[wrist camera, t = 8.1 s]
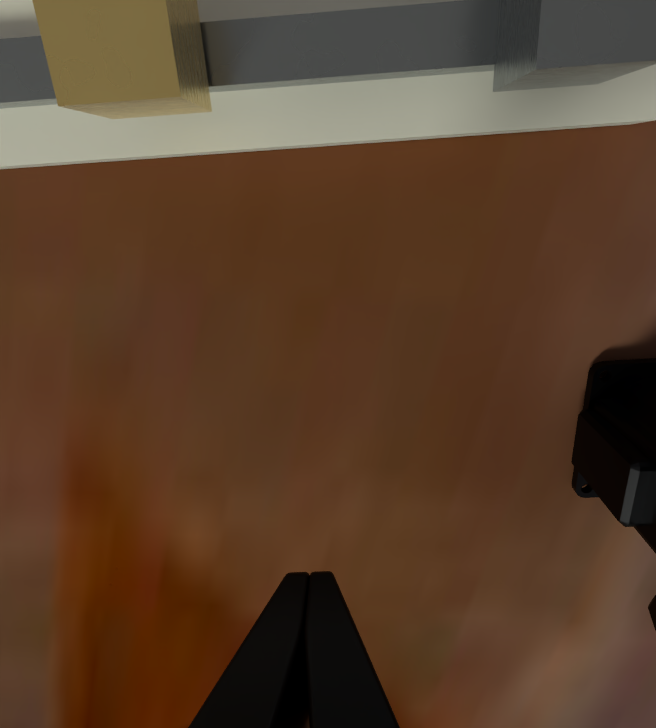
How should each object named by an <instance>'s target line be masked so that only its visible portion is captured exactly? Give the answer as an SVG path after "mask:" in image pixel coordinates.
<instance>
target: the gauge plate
mask: <svg viewBox="0 0 656 728" xmlns="http://www.w3.org/2000/svg"><path fill="white" fill-rule="evenodd" d="M450 1H461V0H197V5H198V13H199V20H200V22H210V21H222V20H234V19H246V18H258V17H270V16H282V15H294V14H306V13H318V12H330V11H342V10H354V9H366V8H378V7H390V6H402V5H414V4H426V3H438V2H450ZM31 36H41V34H40V30H39V26H38V22H37V18H36V13H35V9H34V5H33V1H32V0H0V39H7V38H19V37H31ZM493 80H494V71H484V72H471V73H458V74H445V75H432V76H419V77H406V78H393V79H380V80H367V81H354V82H341V83H328V84H315V85H302V86H289V87H276V88H263V89H250V90H237V91H224V92H211V93H210V100H211V107H212V112H203V113H190V114H176V115H163V116H150V117H136V118H123V119H110V118H106V117H102V116H97V115H93V114H89V113H85V112H81V111H76V110H72V109H68V108H64V107H60V106H58V104H55V105H42V106H29V107H16V108H3V109H0V169H10V168H25V167H39V166H53V165H67V164H81V163H95V162H109V161H123V160H137V159H151V158H165V157H179V156H193V155H207V154H221V153H235V152H249V151H263V150H277V149H291V148H306V147H320V146H334V145H348V144H362V143H376V142H390V141H404V140H418V139H432V138H446V137H460V136H474V135H488V134H502V133H516V132H530V131H544V130H558V129H573V128H587V127H601V126H615V125H629V124H636V123H642V122H648V121H654V120H656V64H654V65H652V66H649V67H646V68H643V69H640V70H637V71H634V72H631V73H628V74H625V75H623V76H620V77H617V78H614V79H611V80H608V81H605V82H602V83H599V84H595V85H581V86H568V87H555V88H541V89H528V90H515V91H501V92H493Z"/></svg>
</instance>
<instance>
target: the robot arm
mask: <svg viewBox="0 0 656 728" xmlns="http://www.w3.org/2000/svg"><path fill="white" fill-rule="evenodd" d="M606 370H607V374H606V375H605V376H604V377H602V378H599V376H600V374H601V373H602V372H603V371H606ZM572 464H573V465H574V472H573V478H572V488H573V489H574V491H575V492H576V493H577V495H578V496H580V497H584V498H590V497H599V498H600V499H601V500H602V501H603V503H604V504H605V505H606V506H607V508H608V509H609V510H610V511H611V513H612V514H613V515H614V516H615V518H616V519H617V520H618V521H619V522H620V523H621V524H622V525H623V526H625V527H634V528H635V529H636V530H637V531H638V533H639V534H640V535H641V536H642V537H643V539H644V540H645V541H646V542H647V543H648V545H649V546H650V547H651V548H652V549H653V551H654V552H655V553H656V358H655V359H635V360H615V361H601V362H597V363H596V364H594V365H593V366H592V367H591V368H590V370H589V373H588V379H587V386H586V392H585V399H584V406H583V410H582V411H581V412H580V414H579V415H578V421H577V428H576V435H575V442H574V448H573V455H572ZM585 484H588V485H587V486H586V487H584V488H582V486H583V485H585ZM648 609H649V612H650V615H651V618H652V621H653V624H654V627H655V630H656V595H655V596H654V598H653V599H652V601H651V603H650V604H649V606H648ZM188 728H400V727H399V725H398V722H397V720H396V718H395V715H394V713H393V711H392V708H391V706H390V704H389V702H388V699H387V697H386V695H385V692H384V690H383V688H382V685H381V683H380V681H379V678H378V676H377V674H376V671H375V669H374V667H373V665H372V662H371V660H370V658H369V655H368V653H367V651H366V648H365V646H364V644H363V641H362V639H361V637H360V635H359V632H358V630H357V628H356V625H355V623H354V621H353V618H352V616H351V614H350V611H349V609H348V607H347V605H346V602H345V600H344V598H343V595H342V593H341V591H340V588H339V586H338V584H337V581H336V579H335V577H334V575H333V573H332V572H330V571H322V572H312V573H311V574H310V575H309V574H308V573H307V572H292V573H288V574H286V576H285V577H284V578H283V580H282V582H281V583H280V585H279V586H278V588H277V589H276V591H275V593H274V594H273V596H272V597H271V599H270V600H269V602H268V603H267V605H266V607H265V608H264V610H263V611H262V613H261V614H260V616H259V618H258V619H257V621H256V622H255V624H254V625H253V627H252V629H251V630H250V632H249V633H248V635H247V636H246V638H245V640H244V641H243V643H242V644H241V646H240V647H239V649H238V651H237V652H236V654H235V655H234V657H233V658H232V660H231V661H230V663H229V665H228V666H227V668H226V669H225V671H224V672H223V674H222V676H221V677H220V679H219V680H218V682H217V683H216V685H215V687H214V688H213V690H212V691H211V693H210V694H209V696H208V698H207V699H206V701H205V702H204V704H203V705H202V707H201V709H200V710H199V712H198V713H197V715H196V716H195V718H194V719H193V721H192V723H191V724H190V726H189V727H188Z"/></svg>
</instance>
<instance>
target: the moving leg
mask: <svg viewBox="0 0 656 728" xmlns="http://www.w3.org/2000/svg"><path fill="white" fill-rule="evenodd" d="M32 1H33V5H34V9H35V13H36V18H37V22H38V26H39V30H40V34H41V38H42V42H43V46H44V50H45V55H46V59H47V63H48V67H49V71H50V75H51V79H52V83H53V88H54V92H55V96H56V100H57V104H58V106H60V107H64V108H68V109H72V110H76V111H81V112H85V113H89V114H93V115H97V116H102V117H106V118H110V119H123V118H136V117H150V116H163V115H176V114H190V113H203V112H212V107H211V100H210V93H209V86H208V78H207V71H206V64H205V56H204V49H203V42H202V34H201V27H200V20H199V13H198V5H197V0H32Z"/></svg>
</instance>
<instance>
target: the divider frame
mask: <svg viewBox="0 0 656 728" xmlns="http://www.w3.org/2000/svg"><path fill="white" fill-rule="evenodd" d="M200 27H201V34H202V42H203V49H204V56H205V64H206V71H207V78H208V86H209V93H211V92H224V91H237V90H250V89H263V88H276V87H289V86H302V85H315V84H328V83H341V82H354V81H367V80H380V79H393V78H406V77H419V76H432V75H445V74H458V73H471V72H484V71H494V80H493V92H501V91H515V90H528V89H541V88H555V87H568V86H581V85H595V84H599V83H602V82H605V81H608V80H611V79H614V78H617V77H620V76H623V75H625V74H628V73H631V72H634V71H637V70H640V69H643V68H646V67H649V66H652V65H654V64H656V0H461V1H450V2H438V3H426V4H414V5H402V6H390V7H378V8H366V9H354V10H342V11H330V12H318V13H306V14H294V15H282V16H270V17H258V18H246V19H234V20H222V21H210V22H200ZM55 104H57V100H56V96H55V92H54V88H53V83H52V79H51V75H50V71H49V67H48V63H47V59H46V55H45V50H44V46H43V42H42V38H41V36H31V37H19V38H7V39H0V109H3V108H16V107H29V106H42V105H55Z"/></svg>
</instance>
